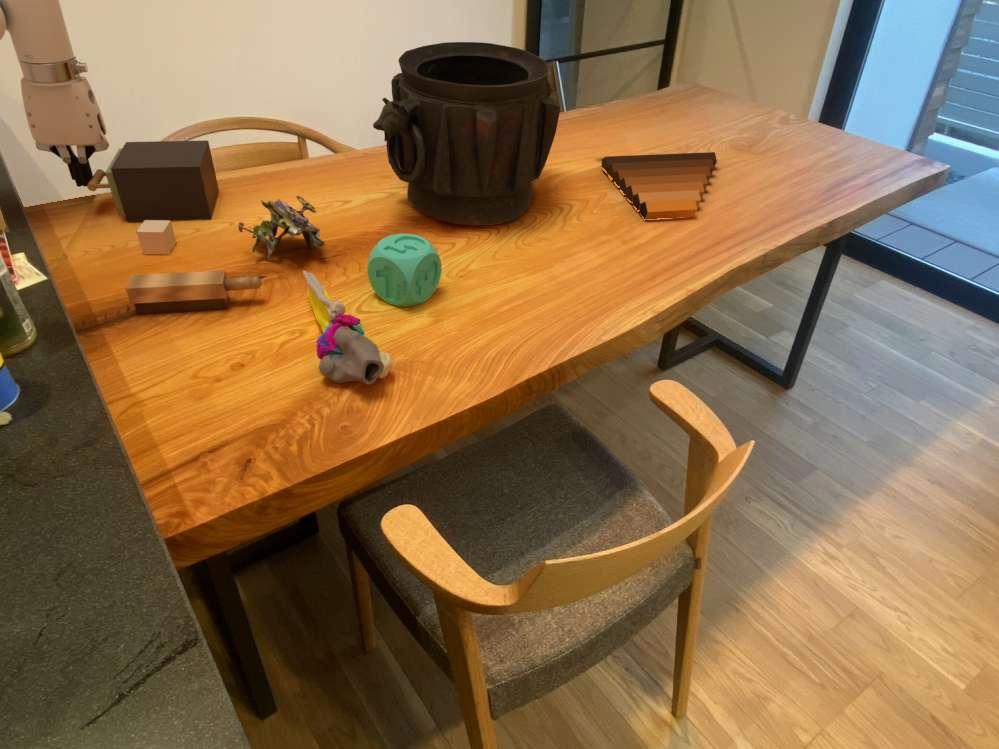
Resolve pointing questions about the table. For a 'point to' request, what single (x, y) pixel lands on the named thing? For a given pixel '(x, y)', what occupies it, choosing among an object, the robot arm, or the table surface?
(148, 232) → the felt block
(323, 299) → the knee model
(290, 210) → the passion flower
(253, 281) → the brush
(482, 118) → the vessel
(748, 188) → the table surface
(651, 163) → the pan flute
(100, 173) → the drawer
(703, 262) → the table surface
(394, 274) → the decorative dice
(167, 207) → the dark wooden cuboid
